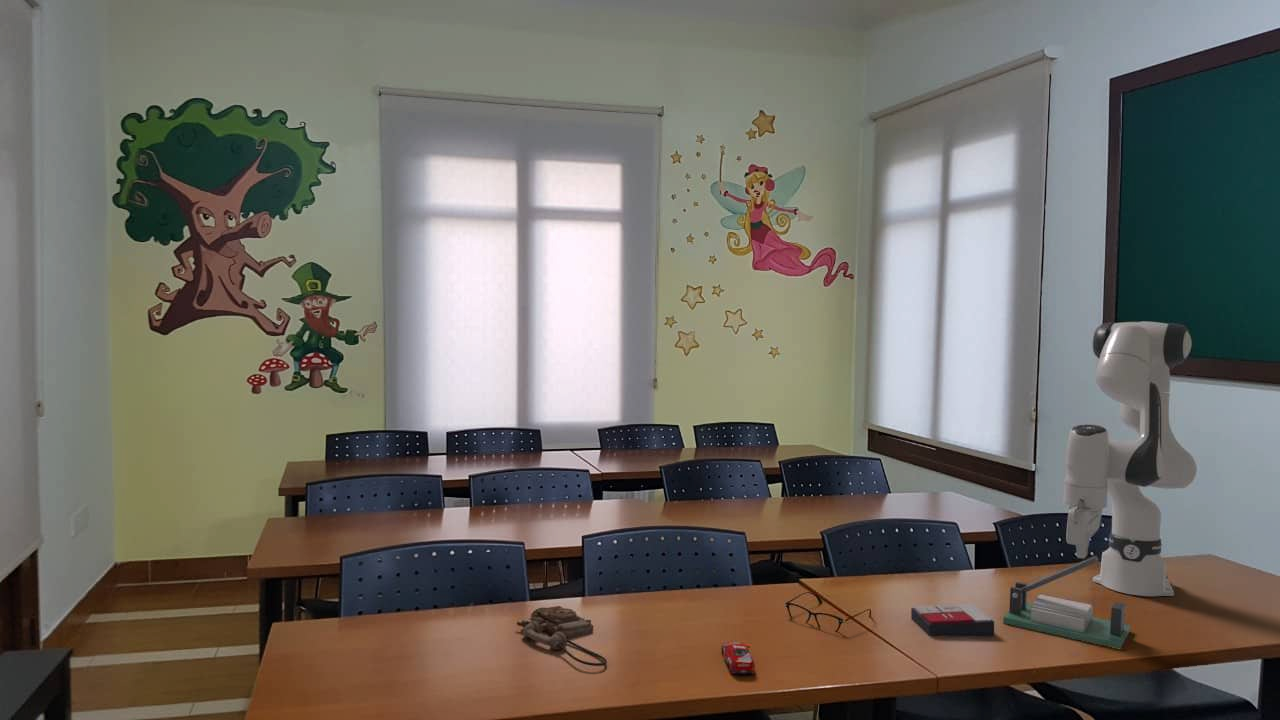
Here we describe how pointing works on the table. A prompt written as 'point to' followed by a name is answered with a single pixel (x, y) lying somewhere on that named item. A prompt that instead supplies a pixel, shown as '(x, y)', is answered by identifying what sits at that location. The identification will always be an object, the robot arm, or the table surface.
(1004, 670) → the table surface
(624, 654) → the table surface
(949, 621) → the black and red box
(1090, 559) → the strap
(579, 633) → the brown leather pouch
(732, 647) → the race car
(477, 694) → the table surface
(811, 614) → the eyeglasses
